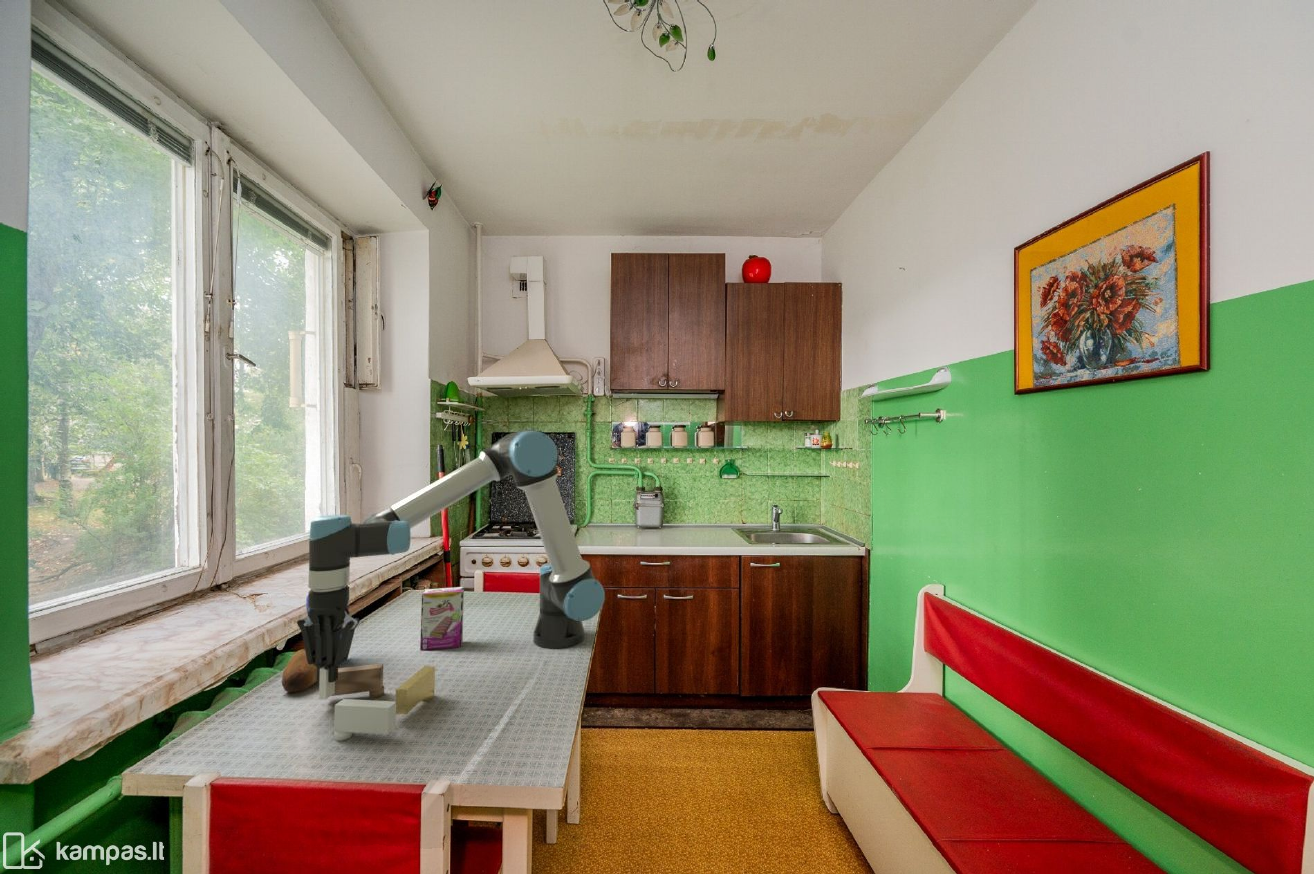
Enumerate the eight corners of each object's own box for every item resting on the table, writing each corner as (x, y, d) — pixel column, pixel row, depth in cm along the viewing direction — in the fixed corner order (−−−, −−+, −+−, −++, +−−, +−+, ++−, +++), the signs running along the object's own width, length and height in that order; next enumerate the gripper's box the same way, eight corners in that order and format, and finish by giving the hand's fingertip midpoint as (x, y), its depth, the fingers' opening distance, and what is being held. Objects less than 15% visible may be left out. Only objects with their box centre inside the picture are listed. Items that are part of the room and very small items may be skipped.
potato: (304, 710, 115) (268, 698, 112) (315, 673, 127) (282, 662, 124) (325, 682, 116) (290, 670, 112) (334, 648, 128) (302, 636, 124)
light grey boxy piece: (330, 740, 96) (331, 705, 96) (341, 731, 99) (342, 698, 99) (387, 743, 95) (387, 708, 96) (396, 734, 98) (397, 700, 98)
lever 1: (385, 691, 116) (386, 662, 116) (382, 697, 113) (383, 667, 113) (328, 698, 112) (329, 668, 113) (323, 704, 110) (324, 674, 110)
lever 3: (424, 694, 115) (424, 665, 115) (436, 694, 114) (437, 665, 114) (393, 721, 103) (394, 689, 103) (407, 722, 103) (408, 689, 103)
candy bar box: (419, 652, 141) (420, 593, 141) (422, 645, 146) (423, 588, 146) (462, 647, 144) (463, 590, 145) (463, 641, 149) (464, 585, 149)
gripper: (368, 583, 112) (366, 689, 112) (314, 581, 113) (312, 686, 113) (345, 592, 105) (343, 706, 104) (287, 591, 106) (284, 703, 105)
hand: (327, 696), depth 109 cm, fingers closed
